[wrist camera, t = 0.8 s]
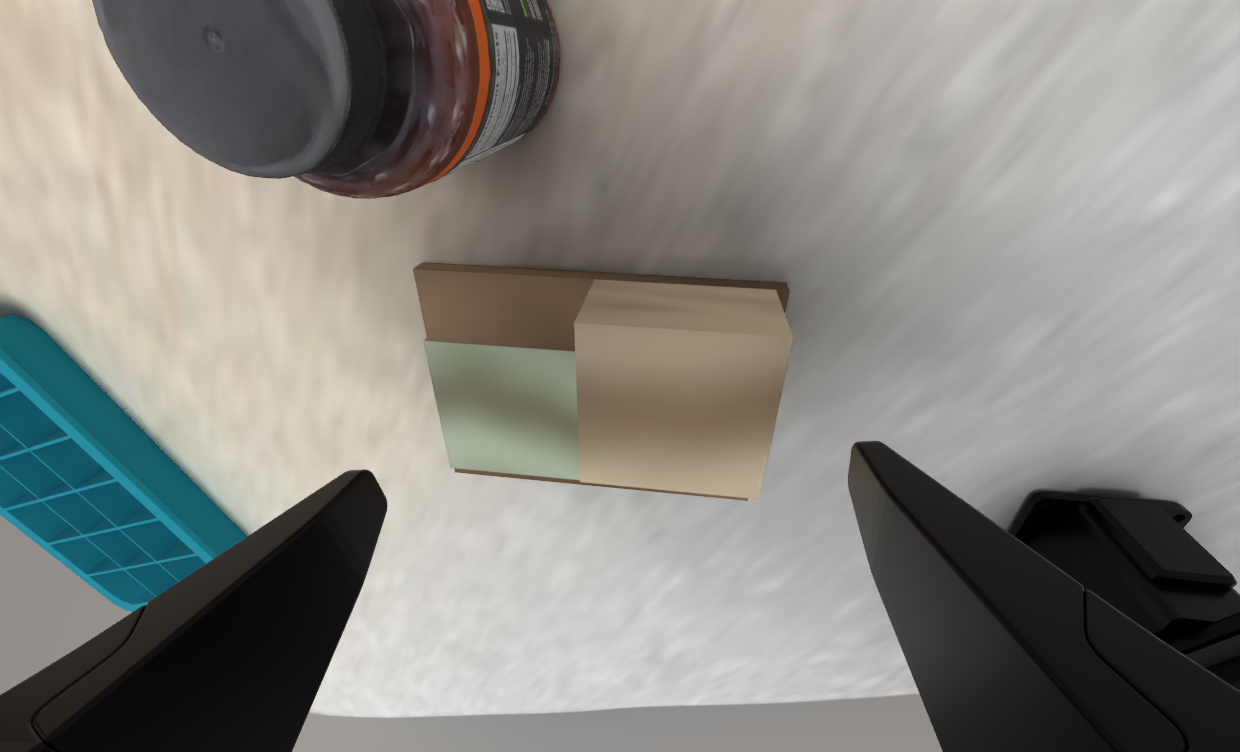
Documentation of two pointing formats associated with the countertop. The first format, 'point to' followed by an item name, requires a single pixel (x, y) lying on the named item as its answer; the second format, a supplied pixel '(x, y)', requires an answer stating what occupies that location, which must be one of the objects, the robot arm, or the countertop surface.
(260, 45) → the supplement bottle
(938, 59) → the countertop surface
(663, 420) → the beech block
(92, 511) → the ice cube tray
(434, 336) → the board
